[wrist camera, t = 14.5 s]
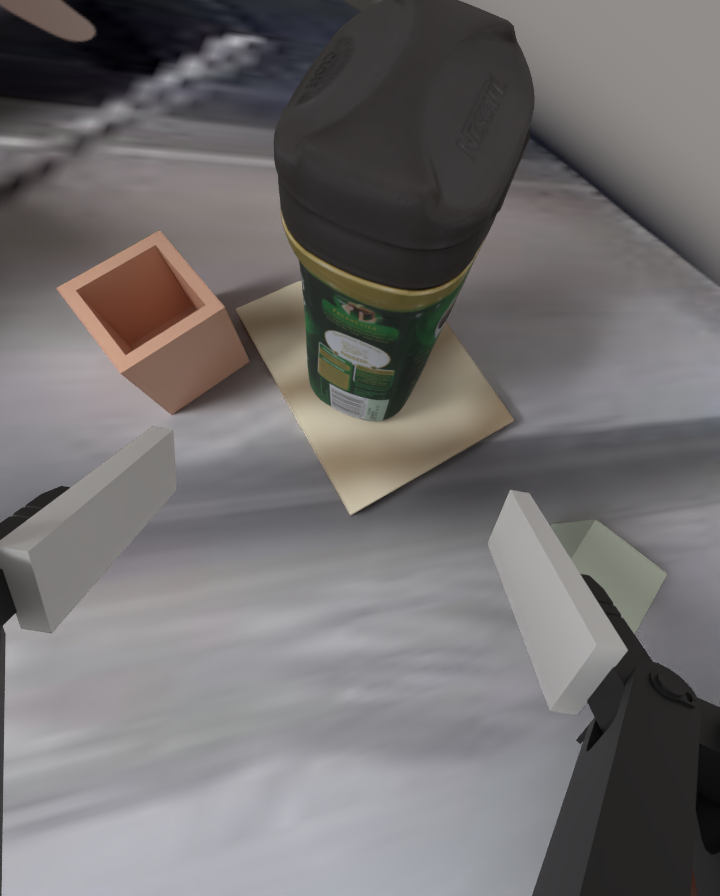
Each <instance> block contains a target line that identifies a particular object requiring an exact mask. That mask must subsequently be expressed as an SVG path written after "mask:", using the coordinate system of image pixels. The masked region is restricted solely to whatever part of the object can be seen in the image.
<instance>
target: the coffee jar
mask: <svg viewBox="0 0 720 896" xmlns="http://www.w3.org/2000/svg"><path fill="white" fill-rule="evenodd" d="M533 110H534V88H533V83H532V78H531V74H530V70H529V67H528V65H527V62H526V59H525V57H524V55H523V52H522V50H521V48H520V46H519V44H518V43H517V39H516V36H515V31H514V26H513V25H512V24H511V23H510V22H509V21H508V20H505V19H503V18H500V17H498V16H496V15H493V14H491V13H489V12H486V11H484V10H481V9H479V8H476V7H474V6H472V5H469V4H467V3H464V2H461V1H458V0H383V1H380V2H378V3H376V4H375V5H373V6H371V7H369V8H367V9H366V10H364V11H363V12H361V13H360V14H358V15H356V16H355V17H354V18H352V19H351V20H350V21H348V22H347V23H346V24H345V25H344V26H343V27H342V28H341V29H340V30H339V31H338V32H337V33H336V34H335V35H334V36H333V37H332V39H331V40H330V42H329V43H328V44H327V46H326V47H325V48H324V49H323V51H322V52H321V53H320V54H319V56H318V57H317V58H316V60H315V61H314V63H313V64H312V65H311V67H310V68H309V70H308V71H307V73H306V74H305V76H304V77H303V79H302V80H301V82H300V84H299V85H298V87H297V88H296V90H295V92H294V94H293V95H292V97H291V99H290V101H289V103H288V105H287V106H286V108H285V109H284V111H283V112H282V114H281V117H280V119H279V121H278V123H277V127H276V130H275V135H274V160H275V166H276V170H277V173H278V184H279V194H280V204H281V218H282V222H283V226H284V230H285V233H286V235H287V238H288V241H289V243H290V245H291V247H292V249H293V251H294V253H295V254H296V256H297V257H298V259H299V265H300V271H301V280H302V292H303V303H304V314H305V326H306V349H307V365H308V375H309V381H310V385H311V388H312V390H313V391H314V393H315V394H316V396H317V397H318V398H319V399H320V400H321V401H323V402H324V403H326V404H327V405H329V406H331V407H332V408H334V409H336V410H338V411H340V412H342V413H344V414H346V415H349V416H352V417H354V418H358V419H361V420H366V421H374V422H376V421H383V420H387V419H389V418H391V417H393V416H394V415H396V414H397V413H398V412H399V411H400V410H401V409H402V408H403V406H404V405H405V403H406V401H407V400H408V398H409V396H410V395H411V393H412V391H413V389H414V387H415V385H416V383H417V381H418V379H419V377H420V375H421V373H422V371H423V369H424V367H425V365H426V362H427V360H428V358H429V355H430V353H431V351H432V349H433V347H434V345H435V342H436V340H437V338H438V336H439V334H440V332H441V330H442V328H443V326H444V324H445V322H446V319H447V317H448V315H449V313H450V311H451V309H452V307H453V305H454V303H455V301H456V298H457V296H458V294H459V292H460V290H461V288H462V286H463V283H464V281H465V279H466V277H467V275H468V273H469V271H470V269H471V267H472V264H473V262H474V260H475V258H476V256H477V254H478V252H479V250H480V248H481V246H482V244H483V242H484V240H485V238H486V236H487V234H488V232H489V230H490V228H491V226H492V224H493V222H494V219H495V217H496V215H497V213H498V212H499V211H500V210H501V207H502V205H503V202H504V199H505V197H506V194H507V191H508V189H509V187H510V185H511V182H512V180H513V177H514V175H515V172H516V170H517V167H518V165H519V163H520V160H521V158H522V156H523V154H524V151H525V149H526V147H527V144H528V142H529V140H530V133H529V126H530V122H531V119H532V114H533Z"/></svg>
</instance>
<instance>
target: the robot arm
mask: <svg viewBox="0 0 720 896" xmlns="http://www.w3.org/2000/svg"><path fill="white" fill-rule="evenodd" d="M175 491H176V471H175V452H174V433H173V429H167V428H162V427H156V426H152V427H151V428H150V429H148V430H147V431H146V432H144V433H143V434H142V435H140V436H139V437H138V438H136V439H135V440H133V441H132V442H131V443H129V444H128V445H127V446H125V447H124V448H123V449H121V450H120V451H119V452H117V453H116V454H115V455H113V456H112V457H111V458H109V459H108V460H107V461H105V462H104V463H103V464H101V465H100V466H99V467H97V468H96V469H95V470H93V471H92V472H91V473H89V474H88V475H87V476H85V477H84V478H83V479H81V480H80V481H79V482H77V483H76V484H75V485H73V486H72V487H71V488H70V487H65V486H60V487H58V488H55V489H53V490H50V491H48V492H45V493H43V494H41V495H39V496H38V497H37V498H35V499H34V500H32V501H31V502H29V503H28V504H27V505H26V506H25V508H23V507H22V508H21V509H20V510H18V511H17V512H15V513H14V514H13V516H12V517H8V518H7V519H5V520H4V521H2V522H1V523H0V896H1V887H2V824H3V761H4V698H5V635H6V634H5V632H4V629H3V625H4V624H5V623H6V622H7V621H8V620H9V619H10V618H11V617H12V616H13V615H14V614H15V613H16V615H17V618H18V621H19V624H20V627H21V629H28V630H34V631H40V632H47V633H52V632H53V631H54V630H55V629H56V628H57V627H58V626H59V624H60V623H61V622H62V621H63V620H64V619H65V618H66V616H67V615H68V614H69V613H70V612H71V611H72V609H73V608H74V607H75V606H76V605H77V604H78V603H79V601H80V600H81V599H82V598H83V597H84V596H85V595H86V593H87V592H88V591H89V590H90V589H91V588H92V586H93V585H94V584H95V583H96V582H97V581H98V580H99V578H100V577H101V576H102V575H103V574H104V573H105V572H106V570H107V569H108V568H109V567H110V566H111V565H112V563H113V562H114V561H115V560H116V559H117V558H118V557H119V555H120V554H121V553H122V552H123V551H124V550H125V549H126V547H127V546H128V545H129V544H130V543H131V542H132V540H133V539H134V538H135V537H136V536H137V535H138V534H139V532H140V531H141V530H142V529H143V528H144V527H145V526H146V524H147V523H148V522H149V521H150V520H151V519H152V517H153V516H154V515H155V514H156V513H157V512H158V511H159V509H160V508H161V507H162V506H163V505H164V504H165V503H166V501H167V500H168V499H169V498H170V497H171V496H172V494H173V493H174V492H175ZM487 544H488V547H489V549H490V552H491V555H492V558H493V560H494V563H495V566H496V568H497V571H498V574H499V576H500V579H501V582H502V584H503V587H504V590H505V592H506V595H507V598H508V600H509V603H510V606H511V609H512V611H513V614H514V617H515V619H516V622H517V625H518V627H519V630H520V633H521V635H522V638H523V641H524V643H525V646H526V649H527V651H528V654H529V657H530V660H531V662H532V665H533V668H534V670H535V673H536V676H537V678H538V681H539V684H540V686H541V689H542V692H543V694H544V697H545V700H546V702H547V705H548V708H549V711H552V712H558V713H565V714H571V715H578V714H579V713H580V711H581V710H582V709H583V708H584V706H585V705H586V704H587V702H588V704H589V706H590V708H591V710H592V712H593V714H594V716H595V718H594V719H593V720H592V722H591V723H590V724H589V725H588V726H587V728H586V729H585V730H584V731H583V732H582V734H581V735H580V736H579V737H578V739H577V740H576V741H578V742H579V743H580V744H581V743H582V742H583V744H582V747H581V750H580V753H579V756H578V759H577V762H576V765H575V768H574V771H573V774H572V777H571V780H570V783H569V786H568V789H567V792H566V795H565V798H564V801H563V804H562V807H561V810H560V813H559V816H558V819H557V822H556V825H555V828H554V831H553V834H552V837H551V840H550V843H549V847H548V850H547V853H546V856H545V859H544V862H543V865H542V868H541V871H540V874H539V877H538V880H537V883H536V886H535V889H534V892H533V895H532V896H691V883H692V867H693V872H694V877H695V882H696V888H697V893H698V896H720V707H718V706H715V705H713V704H711V703H708V702H706V701H704V700H701V699H699V698H697V696H696V695H695V693H694V692H693V690H692V689H691V688H690V687H689V685H688V684H687V683H686V682H685V681H684V680H683V679H682V678H681V677H679V676H678V675H677V674H675V673H674V672H673V671H671V670H670V669H668V668H666V667H664V666H662V665H660V664H659V663H655V662H653V661H652V660H651V658H650V657H649V655H648V654H647V652H646V651H645V649H644V648H643V646H642V645H641V643H640V642H639V640H638V639H637V637H636V636H635V635H634V633H633V632H632V630H631V629H630V627H629V626H628V624H627V623H626V621H625V620H624V618H621V614H620V612H619V611H618V609H617V608H616V606H613V602H612V600H611V599H610V597H609V596H608V594H607V593H606V591H605V590H604V588H602V587H601V586H600V585H599V584H598V583H597V582H596V581H595V580H594V579H593V578H592V577H591V576H590V575H585V574H580V573H579V571H578V570H577V568H576V567H575V565H574V563H573V562H572V560H571V559H570V557H569V555H568V554H567V552H566V551H565V549H564V548H563V546H562V544H561V543H560V541H559V540H558V538H557V536H556V535H555V533H554V532H553V530H552V528H551V527H550V525H549V524H548V522H547V520H546V519H545V517H544V516H543V514H542V513H541V511H540V509H539V508H538V506H537V505H536V503H535V501H534V500H533V498H532V497H531V495H530V493H526V492H520V491H515V490H510V492H509V494H508V496H507V499H506V501H505V503H504V506H503V508H502V510H501V513H500V515H499V517H498V520H497V522H496V524H495V527H494V529H493V531H492V534H491V536H490V538H489V541H488V543H487Z"/></svg>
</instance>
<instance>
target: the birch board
mask: <svg viewBox="0 0 720 896" xmlns="http://www.w3.org/2000/svg"><path fill="white" fill-rule="evenodd" d="M236 311H237V313H238V316H239V318H240V320H241V322H242V323H243V325H244V327H245V329H246V331H247V332H248V334H249V336H250V338H251V339H252V341H253V343H254V345H255V347H256V348H257V350H258V352H259V354H260V355H261V357H262V359H263V361H264V363H265V364H266V366H267V368H268V370H269V372H270V373H271V375H272V377H273V379H274V380H275V382H276V384H277V386H278V388H279V389H280V391H281V393H282V395H283V396H284V398H285V400H286V402H287V404H288V405H289V407H290V409H291V411H292V412H293V414H294V416H295V418H296V420H297V421H298V423H299V425H300V427H301V428H302V430H303V432H304V434H305V436H306V437H307V439H308V441H309V443H310V445H311V446H312V448H313V450H314V452H315V453H316V455H317V457H318V459H319V461H320V462H321V464H322V466H323V468H324V469H325V471H326V473H327V475H328V477H329V478H330V480H331V482H332V484H333V485H334V487H335V489H336V491H337V493H338V494H339V496H340V498H341V500H342V502H343V503H344V505H345V507H346V509H347V510H348V512H349V514H350V516H351V515H353V514H355V513H356V512H358V511H360V510H362V509H363V508H365V507H367V506H369V505H370V504H372V503H374V502H375V501H377V500H379V499H381V498H382V497H384V496H386V495H388V494H389V493H391V492H393V491H395V490H396V489H398V488H400V487H401V486H403V485H405V484H407V483H408V482H410V481H412V480H414V479H415V478H417V477H419V476H421V475H422V474H424V473H426V472H427V471H429V470H431V469H433V468H434V467H436V466H438V465H440V464H441V463H443V462H445V461H447V460H448V459H450V458H452V457H453V456H455V455H457V454H459V453H460V452H462V451H464V450H466V449H467V448H469V447H471V446H473V445H474V444H476V443H478V442H479V441H481V440H483V439H485V438H486V437H488V436H490V435H492V434H493V433H495V432H497V431H499V430H500V429H502V428H504V427H505V426H507V425H509V424H510V423H511V422H513V421H514V419H513V417H512V416H511V415H510V413H509V412H508V410H507V409H506V407H505V406H504V404H503V403H502V402H501V400H500V399H499V397H498V396H497V394H496V393H495V392H494V390H493V389H492V387H491V386H490V384H489V383H488V381H487V380H486V379H485V377H484V376H483V374H482V373H481V371H480V370H479V368H478V367H477V366H476V364H475V363H474V361H473V360H472V358H471V357H470V355H469V354H468V353H467V351H466V350H465V348H464V347H463V345H462V344H461V342H460V341H459V340H458V338H457V337H456V335H455V334H454V332H453V331H452V330H451V328H450V327H449V325H448V324H447V322H445V324H444V326H443V328H442V330H441V332H440V334H439V336H438V338H437V340H436V342H435V345H434V347H433V349H432V351H431V353H430V355H429V358H428V360H427V362H426V365H425V367H424V369H423V371H422V373H421V375H420V377H419V379H418V381H417V383H416V385H415V387H414V389H413V391H412V393H411V395H410V396H409V398H408V400H407V401H406V403H405V405H404V406H403V408H402V409H401V410H400V411H399V412H398V413H397V414H396V415H394V416H393V417H391V418H389V419H387V420H383V421H376V422H374V421H366V420H361V419H358V418H354V417H352V416H349V415H346V414H344V413H342V412H340V411H338V410H336V409H334V408H332V407H331V406H329V405H327V404H326V403H324V402H323V401H321V400H320V399H319V398H318V397H317V396H316V394H315V393H314V391H313V390H312V388H311V385H310V381H309V375H308V365H307V349H306V326H305V314H304V303H303V292H302V280H300V281H298V282H296V283H293V284H291V285H289V286H286V287H284V288H282V289H280V290H277V291H275V292H273V293H270V294H268V295H266V296H264V297H261V298H259V299H257V300H254V301H252V302H250V303H247V304H245V305H243V306H241V307H238V308H236Z"/></svg>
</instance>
